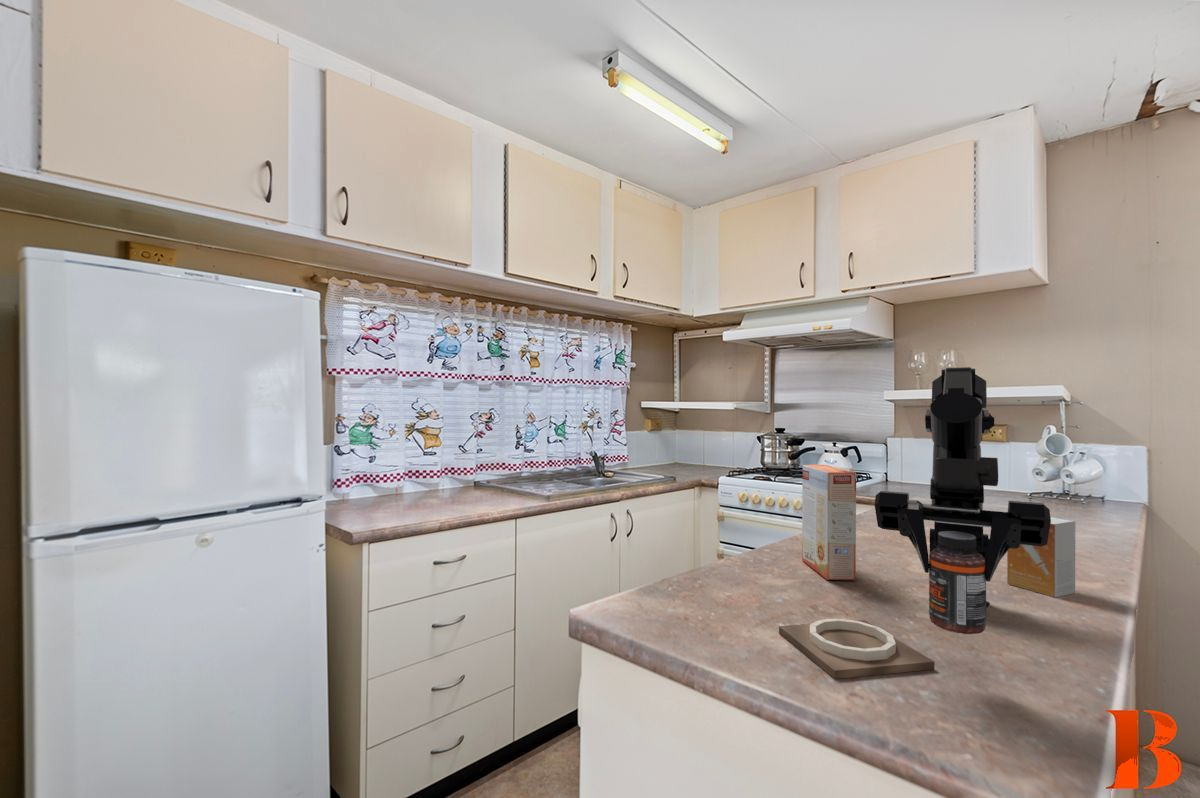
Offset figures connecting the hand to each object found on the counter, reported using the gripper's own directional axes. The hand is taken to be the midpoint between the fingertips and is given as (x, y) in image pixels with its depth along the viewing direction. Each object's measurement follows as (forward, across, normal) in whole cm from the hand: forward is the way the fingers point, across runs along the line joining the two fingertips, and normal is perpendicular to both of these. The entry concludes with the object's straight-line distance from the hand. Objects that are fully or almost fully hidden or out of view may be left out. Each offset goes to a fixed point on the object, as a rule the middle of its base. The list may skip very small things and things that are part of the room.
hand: (956, 575), depth 68 cm
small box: (-25, +13, +45) cm, 53 cm away
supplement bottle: (+4, 0, +6) cm, 7 cm away
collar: (+7, -12, +12) cm, 18 cm away
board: (+7, -12, +12) cm, 18 cm away
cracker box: (-19, -22, +38) cm, 48 cm away
